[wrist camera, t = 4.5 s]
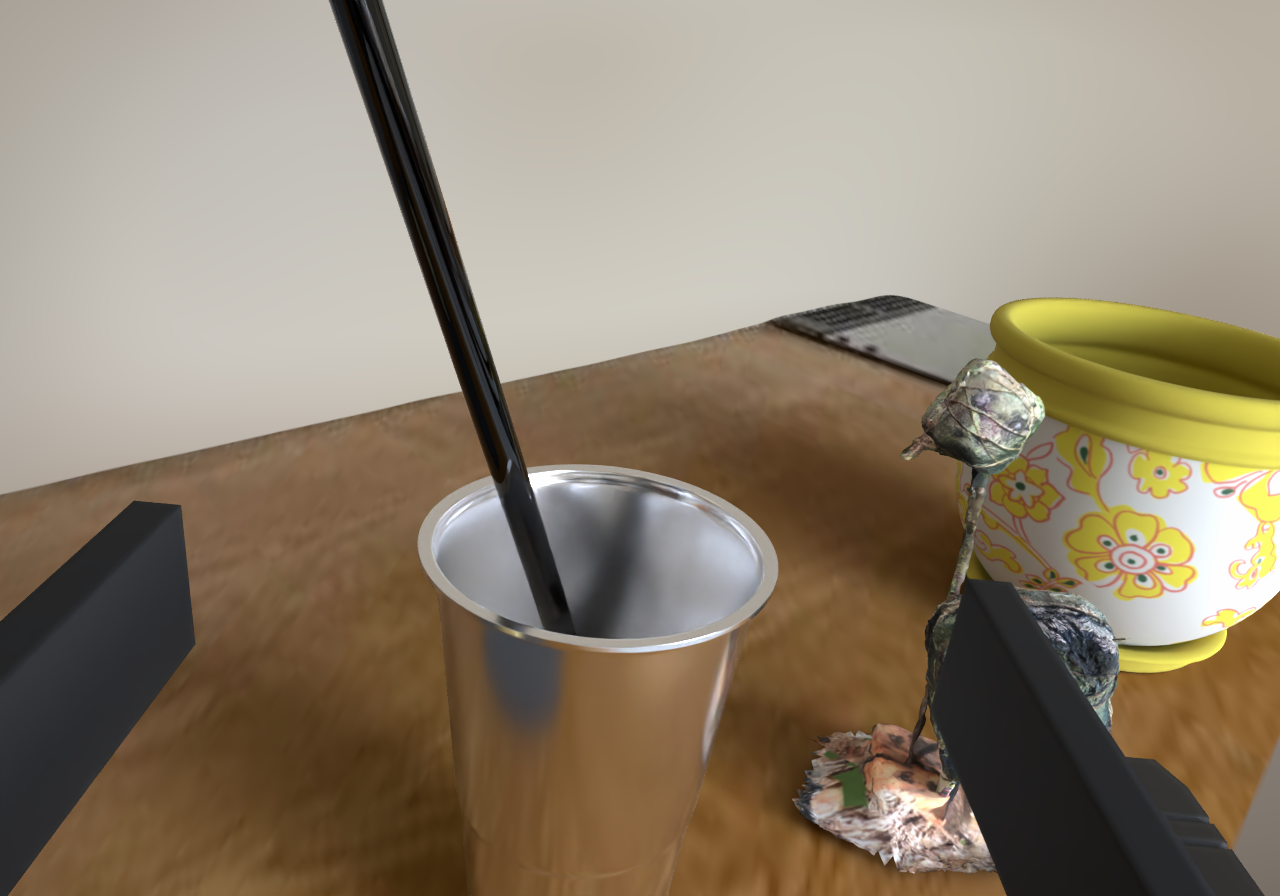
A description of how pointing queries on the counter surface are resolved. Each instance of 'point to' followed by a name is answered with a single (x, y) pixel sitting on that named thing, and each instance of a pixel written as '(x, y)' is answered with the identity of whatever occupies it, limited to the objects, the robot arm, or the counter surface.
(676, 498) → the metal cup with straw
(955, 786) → the decorative sculpture
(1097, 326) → the flowerpot
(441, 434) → the counter surface
